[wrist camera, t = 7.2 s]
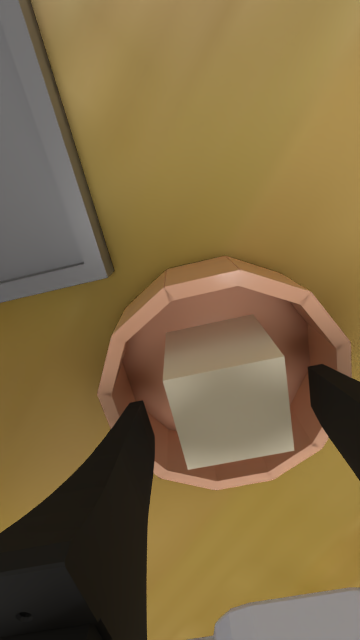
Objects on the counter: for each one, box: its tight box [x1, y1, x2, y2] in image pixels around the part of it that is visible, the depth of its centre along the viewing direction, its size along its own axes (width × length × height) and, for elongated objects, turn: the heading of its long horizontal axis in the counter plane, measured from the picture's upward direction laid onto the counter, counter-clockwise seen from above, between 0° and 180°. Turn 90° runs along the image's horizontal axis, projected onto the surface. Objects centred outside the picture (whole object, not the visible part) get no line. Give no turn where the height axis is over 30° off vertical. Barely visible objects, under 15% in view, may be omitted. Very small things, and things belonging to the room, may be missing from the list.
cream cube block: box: [163, 314, 294, 470], centre depth 13 cm, size 4×4×4 cm
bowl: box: [97, 256, 352, 490], centre depth 15 cm, size 11×11×4 cm
